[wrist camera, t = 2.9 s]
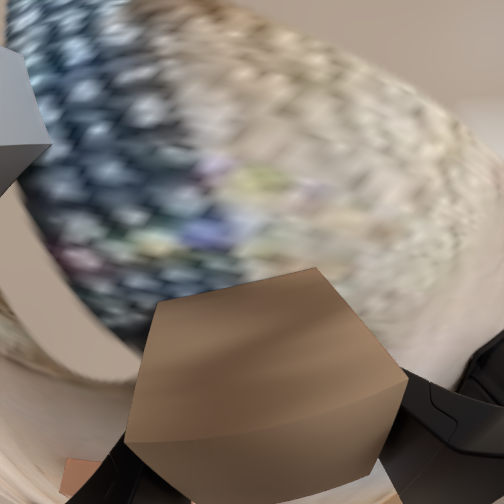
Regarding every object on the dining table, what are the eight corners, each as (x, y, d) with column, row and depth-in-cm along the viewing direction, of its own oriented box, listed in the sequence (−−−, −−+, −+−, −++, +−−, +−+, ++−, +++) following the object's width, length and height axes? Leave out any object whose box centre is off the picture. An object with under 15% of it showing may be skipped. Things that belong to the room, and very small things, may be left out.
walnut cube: (315, 267, 8) (408, 378, 4) (321, 375, 10) (369, 474, 6) (158, 302, 8) (123, 442, 3) (202, 402, 10) (208, 512, 5)
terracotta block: (148, 460, 12) (145, 507, 9) (193, 493, 14) (195, 529, 11) (68, 455, 12) (59, 492, 8) (120, 492, 14) (117, 523, 11)
